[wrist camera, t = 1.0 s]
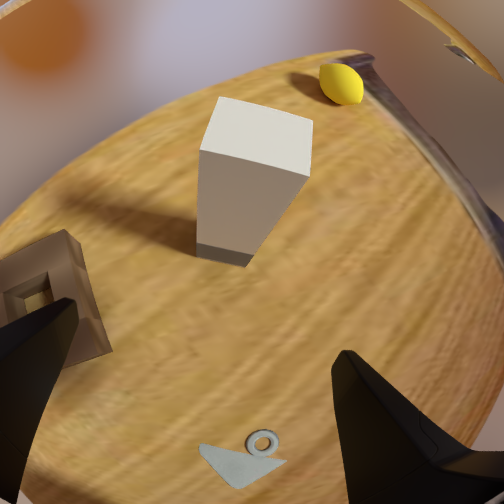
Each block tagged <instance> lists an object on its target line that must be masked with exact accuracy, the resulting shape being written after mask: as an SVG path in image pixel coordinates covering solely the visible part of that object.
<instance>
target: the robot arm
mask: <svg viewBox="0 0 504 504" xmlns="http://www.w3.org/2000/svg"><path fill="white" fill-rule="evenodd" d="M78 325H79V314H78V308H77V302H76V301H75V300H74V299H71V298H68V297H63V298H61V299H59V300H57V301H55V302H53V303H50V304H48V305H46V306H44V307H42V308H40V309H38V310H36V311H33V312H31V313H29V314H27V315H25V316H23V317H21V318H19V319H17V320H15V321H13V322H11V323H9V324H7V325H5V326H3V327H1V328H0V498H2V499H3V500H6V501H7V502H9V503H11V504H16V503H17V498H18V493H19V489H20V485H21V481H22V477H23V473H24V469H25V466H26V462H27V458H28V455H29V452H30V448H31V445H32V442H33V439H34V436H35V433H36V431H37V428H38V425H39V422H40V420H41V417H42V414H43V412H44V409H45V407H46V404H47V402H48V399H49V397H50V394H51V392H52V390H53V387H54V385H55V383H56V381H57V378H58V376H59V374H60V372H61V370H62V367H63V365H64V363H65V360H66V358H67V355H68V352H69V349H70V347H71V344H72V341H73V338H74V336H75V333H76V330H77V328H78ZM331 376H332V388H333V402H334V411H335V417H336V422H337V428H338V433H339V439H340V445H341V452H342V458H343V464H344V471H345V478H346V485H347V492H348V500H349V504H504V451H475V450H471V449H469V448H467V447H465V446H464V445H463V444H461V443H460V442H458V441H457V440H456V439H454V438H453V437H452V436H450V435H449V434H448V433H446V432H445V431H444V430H442V429H441V428H440V427H439V426H437V425H436V424H435V423H434V422H432V421H431V420H430V419H429V418H428V417H427V416H425V415H424V414H423V413H422V412H421V411H419V410H418V408H416V407H415V406H414V405H413V404H412V403H411V402H410V401H409V400H408V399H406V398H405V397H404V396H403V395H402V394H401V393H400V392H399V391H398V390H396V389H395V388H394V387H393V386H392V385H391V384H390V383H389V382H388V381H386V380H385V379H384V378H383V377H382V376H381V375H380V374H379V373H378V372H377V371H375V370H374V369H373V368H372V367H371V366H370V365H369V364H368V363H367V362H365V361H364V360H363V359H362V358H361V357H360V356H359V355H358V354H357V353H356V352H354V351H352V350H342V351H341V352H340V354H339V355H338V357H337V359H336V360H335V362H334V364H333V365H332V368H331Z"/></svg>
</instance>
